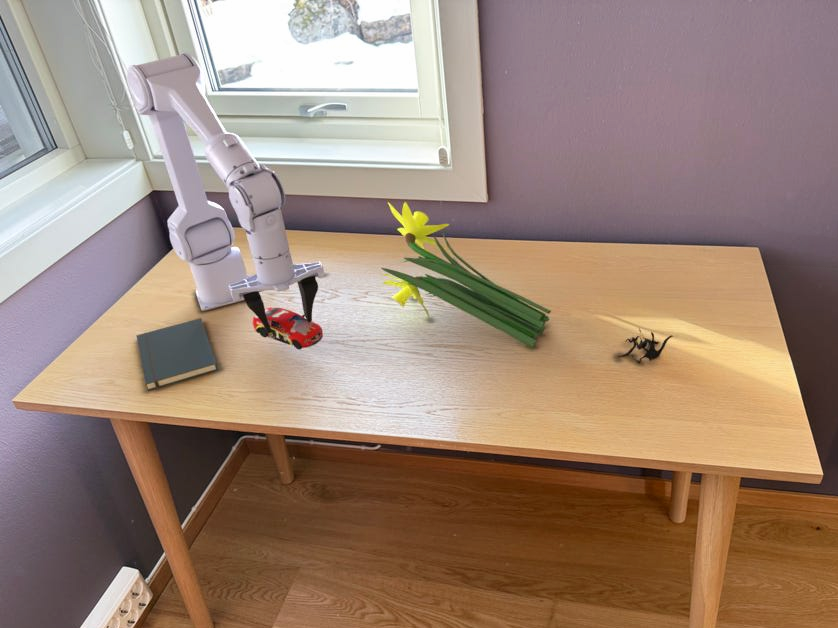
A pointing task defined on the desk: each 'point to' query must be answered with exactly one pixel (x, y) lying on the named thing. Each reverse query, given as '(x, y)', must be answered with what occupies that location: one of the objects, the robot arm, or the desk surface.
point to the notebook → (175, 354)
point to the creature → (651, 352)
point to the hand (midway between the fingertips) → (288, 324)
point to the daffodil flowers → (484, 294)
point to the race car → (289, 328)
